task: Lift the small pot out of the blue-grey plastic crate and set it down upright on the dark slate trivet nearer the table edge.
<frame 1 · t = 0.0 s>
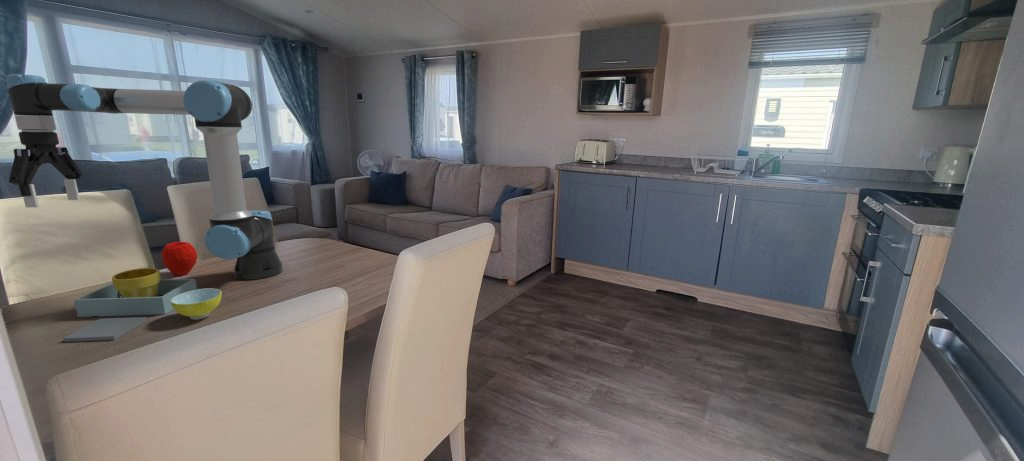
hand: (54, 203, 126), 28 cm above the table, fingers open, 13 cm apart
trivet: (107, 330, 107), on the table
apple: (182, 274, 150), on the table
bowl: (200, 317, 117), on the table
crate: (142, 304, 123), on the table
plant pot: (142, 305, 123), resting in crate
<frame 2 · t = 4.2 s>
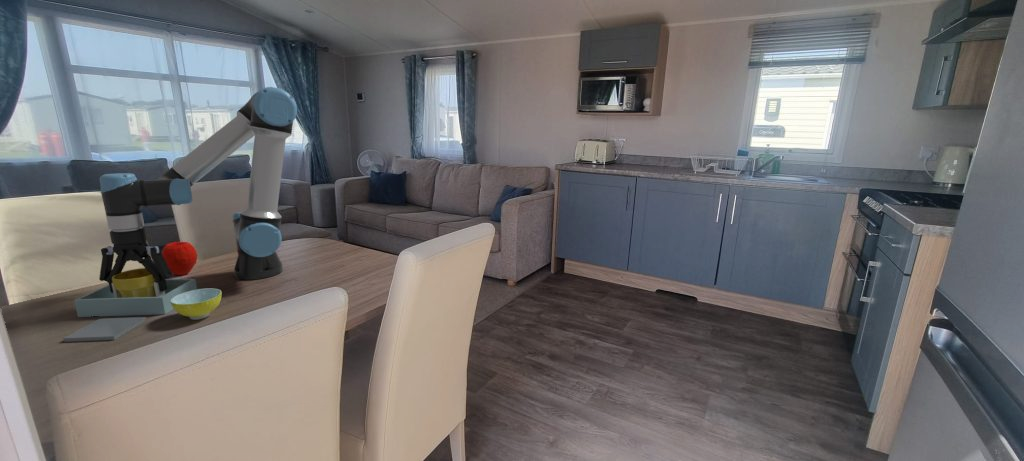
hand: (141, 302, 123), 1 cm above the table, fingers closed on plant pot, 10 cm apart
plant pot: (142, 305, 123), resting in crate, touching gripper
everything else where it was.
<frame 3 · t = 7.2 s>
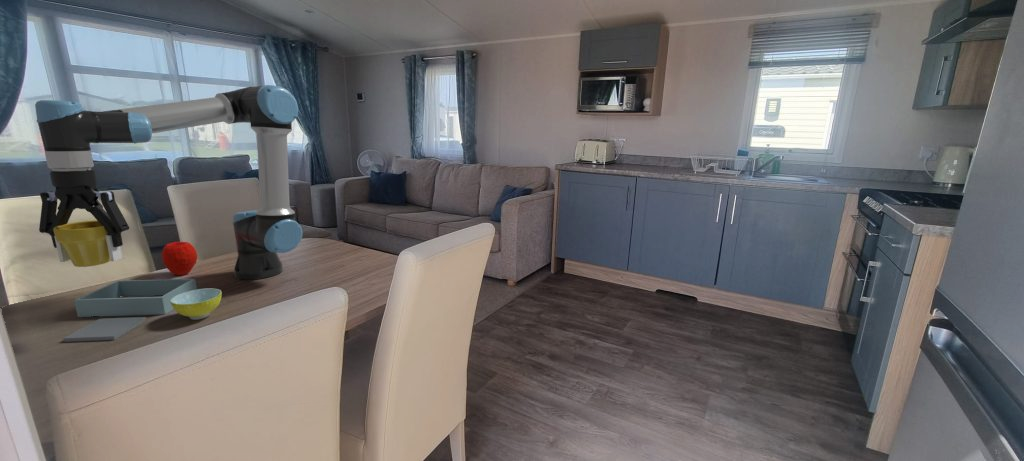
hand: (92, 259, 103), 19 cm above the table, fingers closed on plant pot, 10 cm apart
plant pot: (93, 263, 103), point 18 cm above the table, touching gripper
everything else where it was.
when the fingers open (4 cm above the table, at t = 10.4 s): plant pot drops 2 cm, resting on trivet.
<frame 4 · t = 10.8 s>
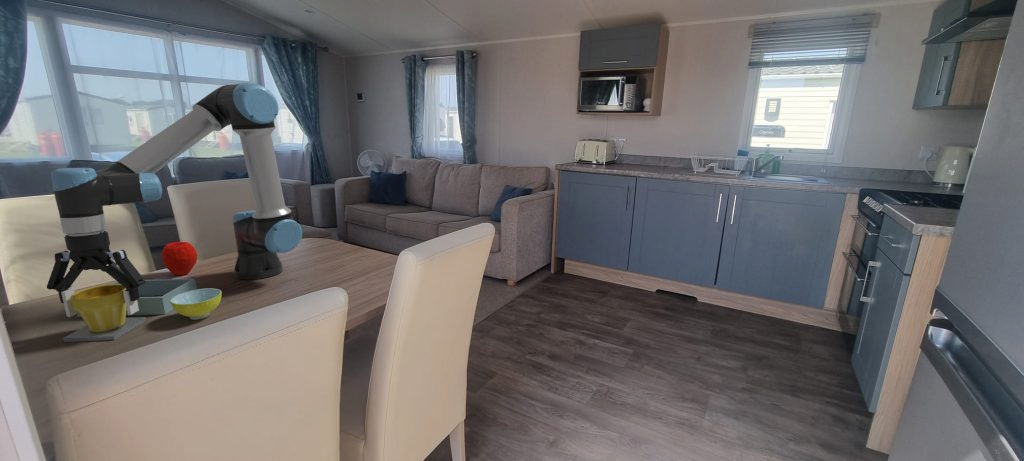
hand: (103, 313, 106), 5 cm above the table, fingers open, 13 cm apart
plant pot: (107, 327, 107), point 1 cm above the table, touching trivet
everything else where it was.
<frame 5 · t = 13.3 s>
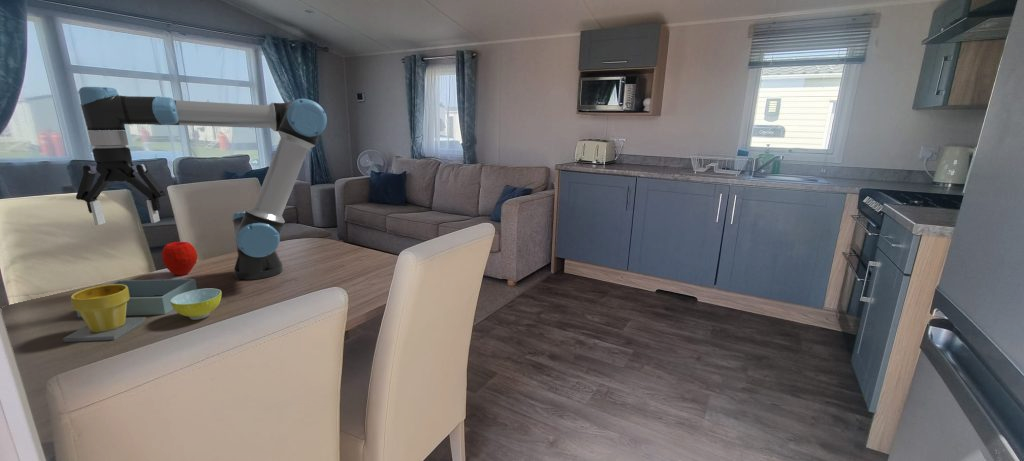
hand: (128, 223, 119), 24 cm above the table, fingers open, 13 cm apart
nothing on the table moved.
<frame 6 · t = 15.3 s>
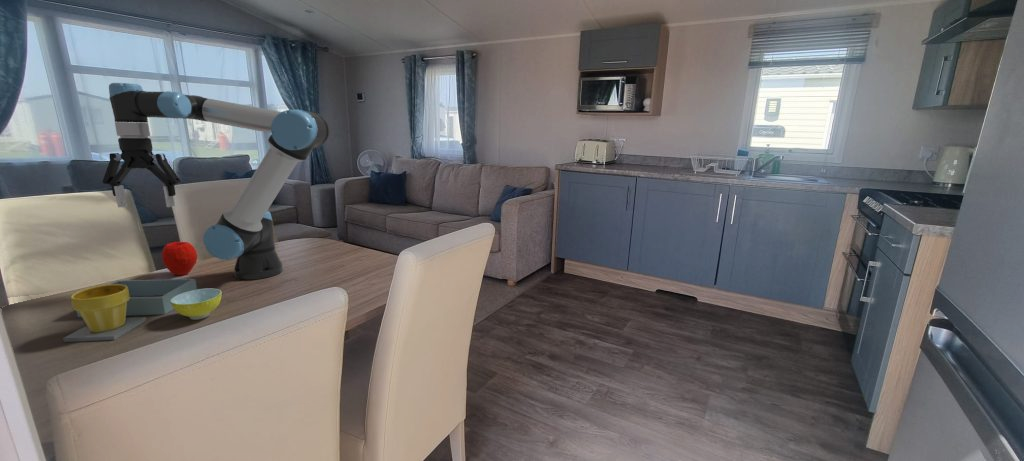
hand: (146, 206, 131), 27 cm above the table, fingers open, 13 cm apart
nothing on the table moved.
at the end: plant pot inside the target area on the trivet (0.1 cm from its centre), point 0.8 cm above the trivet's base; plant pot tilted 0°; the gripper is holding nothing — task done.
